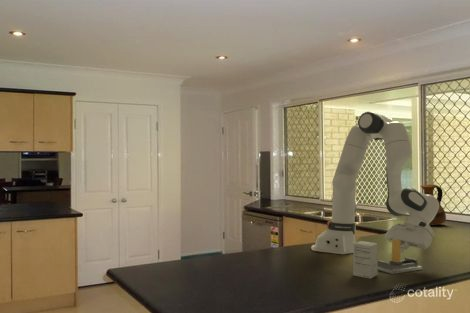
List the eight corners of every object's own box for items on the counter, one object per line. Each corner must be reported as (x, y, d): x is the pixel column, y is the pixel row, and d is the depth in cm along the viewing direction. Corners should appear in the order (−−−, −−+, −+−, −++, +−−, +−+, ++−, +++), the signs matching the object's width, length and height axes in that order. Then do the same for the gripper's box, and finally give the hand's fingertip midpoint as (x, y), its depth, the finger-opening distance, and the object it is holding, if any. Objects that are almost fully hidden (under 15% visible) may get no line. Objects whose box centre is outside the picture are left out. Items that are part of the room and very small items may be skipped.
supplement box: (360, 271, 173) (360, 240, 173) (378, 275, 168) (378, 243, 168) (352, 275, 167) (353, 243, 167) (370, 279, 163) (371, 245, 163)
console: (403, 264, 188) (403, 256, 188) (422, 269, 179) (422, 260, 179) (373, 268, 180) (373, 259, 180) (391, 274, 171) (392, 264, 171)
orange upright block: (396, 264, 181) (396, 238, 181) (402, 266, 178) (402, 240, 178) (389, 265, 179) (389, 239, 179) (395, 267, 176) (395, 240, 177)
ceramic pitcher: (410, 223, 322) (411, 183, 323) (432, 222, 328) (432, 183, 329) (429, 227, 304) (430, 184, 304) (452, 226, 310) (452, 185, 310)
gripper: (392, 218, 192) (375, 241, 188) (431, 225, 174) (415, 251, 170) (398, 228, 194) (382, 251, 190) (438, 235, 176) (422, 261, 172)
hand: (398, 251), depth 180 cm, fingers closed, pressing on orange upright block
